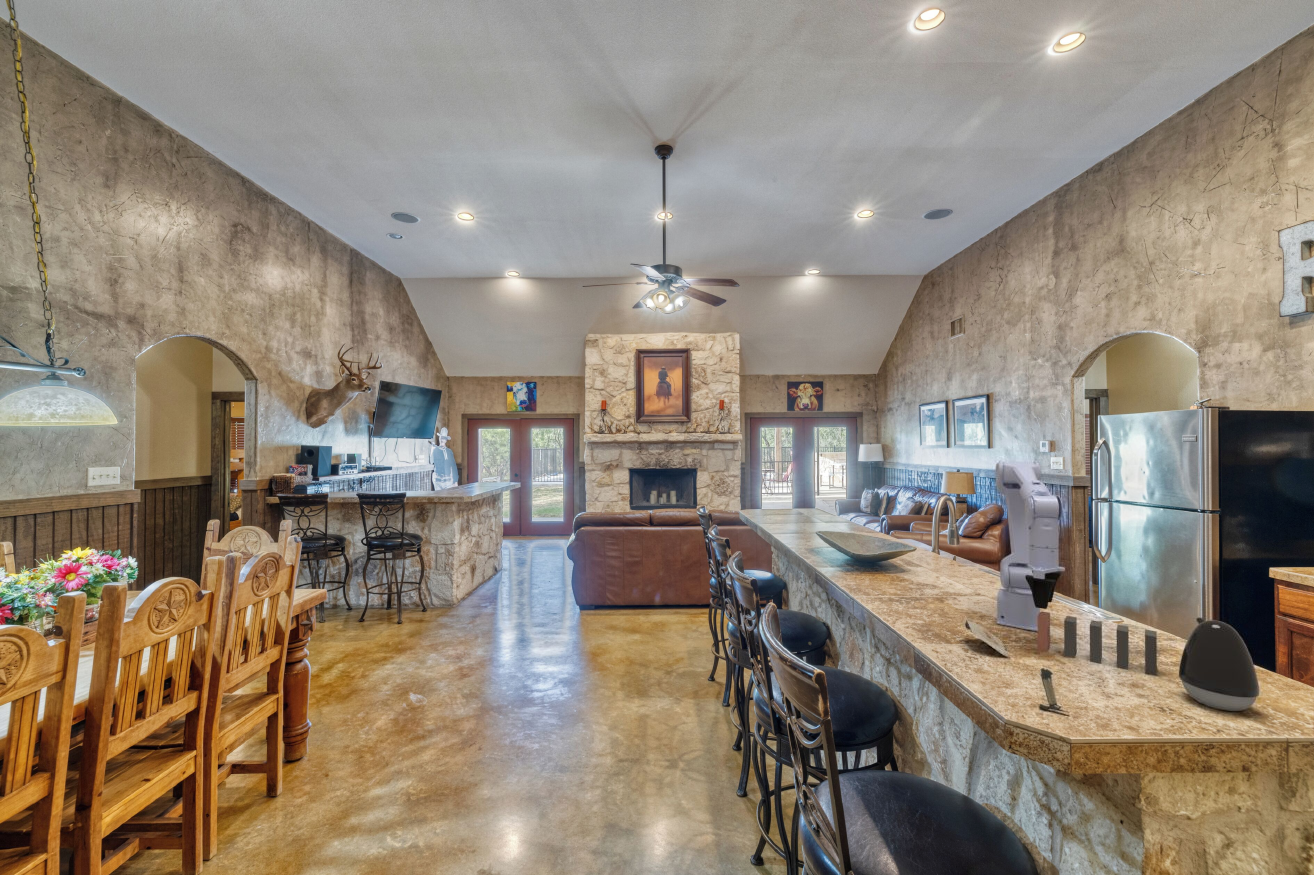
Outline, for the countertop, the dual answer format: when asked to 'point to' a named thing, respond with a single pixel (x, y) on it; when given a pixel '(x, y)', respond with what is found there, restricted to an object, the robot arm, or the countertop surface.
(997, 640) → the wooden slab
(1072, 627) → the domino
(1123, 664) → the domino
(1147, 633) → the domino
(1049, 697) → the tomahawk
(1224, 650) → the black and grey speaker
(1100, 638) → the domino
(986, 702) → the countertop surface
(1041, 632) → the loose domino
